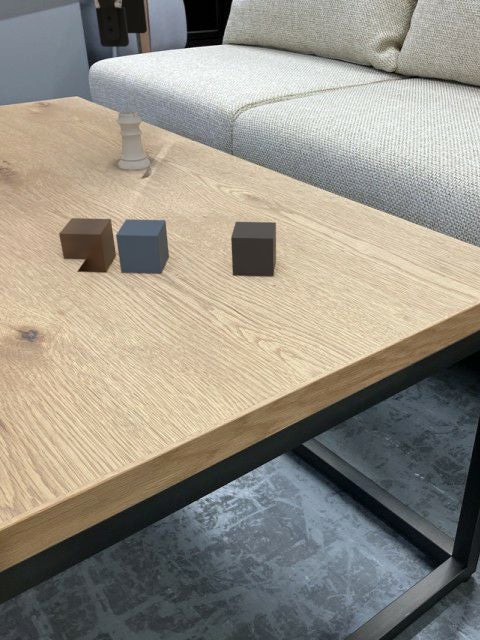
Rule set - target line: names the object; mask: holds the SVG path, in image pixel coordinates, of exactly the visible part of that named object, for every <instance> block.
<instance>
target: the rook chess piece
mask: <svg viewBox="0 0 480 640" xmlns="http://www.w3.org/2000/svg"><path fill="white" fill-rule="evenodd" d="M117 114H118V117H117V118H116V123H117V125H119V127H120V131H119V135H120V136H121V155H120V156H119V158H120V159H119V160H118V161H117V163H118V164H117V167H118V168H120V169H123V170H131V171H132V170H141V169H145V168H147V169H146V170H145V172H144V174H143V175H142V176H141V179H145V178H148V177H149V176H150V175H151V174H152V172H153V170H152V167H150V166H151V161H150V159H149V158H148V156H147V154H146V153H145V151H144V146H143V142H142V137H141V134H142V130H141V129H140V125H141V123H142V121H143V119H142V118H141V117H140V115H139V111H137V110H131V112H130V110H125V111H123V110H121V111H119V112H118V113H117Z"/></svg>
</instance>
